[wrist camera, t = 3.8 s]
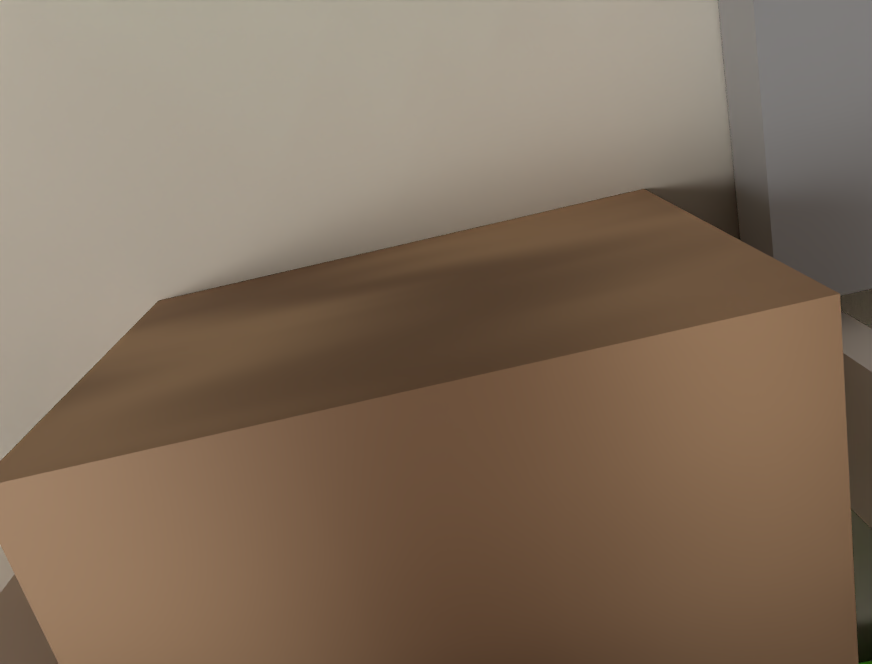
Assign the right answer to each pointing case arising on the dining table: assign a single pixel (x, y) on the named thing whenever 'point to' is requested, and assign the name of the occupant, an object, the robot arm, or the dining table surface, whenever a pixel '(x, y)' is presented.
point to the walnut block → (458, 460)
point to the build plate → (803, 133)
